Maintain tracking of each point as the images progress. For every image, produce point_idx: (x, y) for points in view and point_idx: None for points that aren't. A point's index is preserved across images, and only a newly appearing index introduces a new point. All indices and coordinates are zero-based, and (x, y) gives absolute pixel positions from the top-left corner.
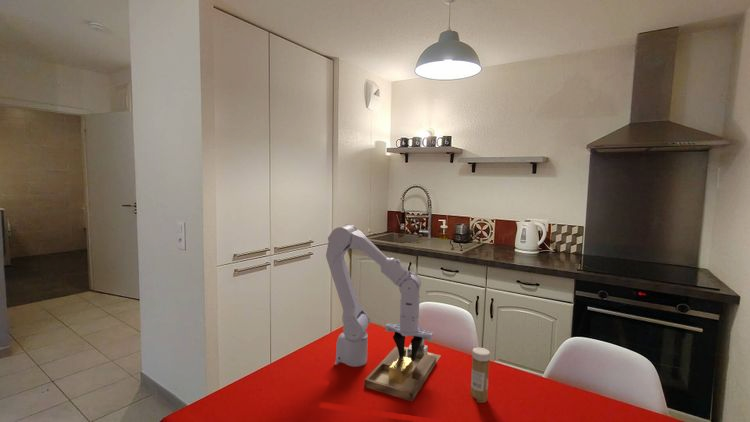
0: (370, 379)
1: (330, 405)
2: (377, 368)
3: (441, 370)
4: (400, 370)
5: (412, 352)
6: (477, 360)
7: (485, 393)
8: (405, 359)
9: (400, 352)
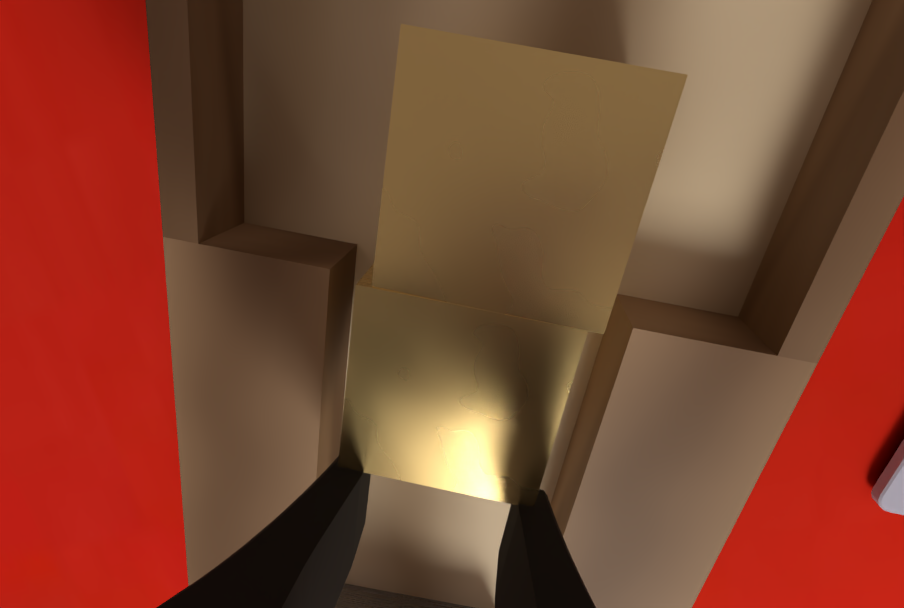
0: None
1: None
2: (864, 196)
3: (178, 482)
4: (439, 39)
5: (302, 542)
6: None
7: None
8: (438, 431)
9: (535, 548)
